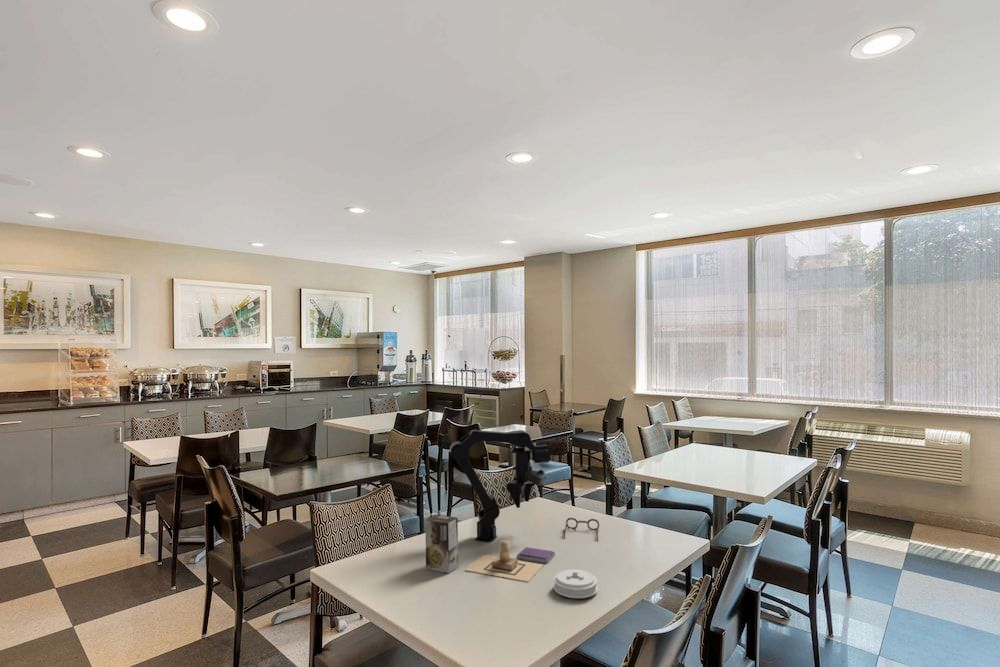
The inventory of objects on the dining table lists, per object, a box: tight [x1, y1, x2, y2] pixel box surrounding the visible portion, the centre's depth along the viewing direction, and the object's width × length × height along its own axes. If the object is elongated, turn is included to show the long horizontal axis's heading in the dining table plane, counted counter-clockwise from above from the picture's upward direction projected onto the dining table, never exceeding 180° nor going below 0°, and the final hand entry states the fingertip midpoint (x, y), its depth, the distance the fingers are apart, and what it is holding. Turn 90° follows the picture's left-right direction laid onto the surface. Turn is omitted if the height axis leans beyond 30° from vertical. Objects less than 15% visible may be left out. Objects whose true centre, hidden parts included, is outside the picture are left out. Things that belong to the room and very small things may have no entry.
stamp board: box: [464, 554, 545, 583], centre depth 174 cm, size 22×14×1 cm, turn 66°
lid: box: [553, 569, 598, 599], centre depth 157 cm, size 13×13×5 cm
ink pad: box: [516, 547, 556, 564], centre depth 183 cm, size 11×8×2 cm
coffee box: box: [424, 514, 459, 574], centre depth 175 cm, size 9×6×16 cm
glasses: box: [563, 517, 600, 542], centre depth 206 cm, size 13×13×5 cm
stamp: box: [492, 539, 519, 571], centre depth 174 cm, size 7×5×8 cm
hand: (522, 504), depth 205 cm, fingers open, 9 cm apart
